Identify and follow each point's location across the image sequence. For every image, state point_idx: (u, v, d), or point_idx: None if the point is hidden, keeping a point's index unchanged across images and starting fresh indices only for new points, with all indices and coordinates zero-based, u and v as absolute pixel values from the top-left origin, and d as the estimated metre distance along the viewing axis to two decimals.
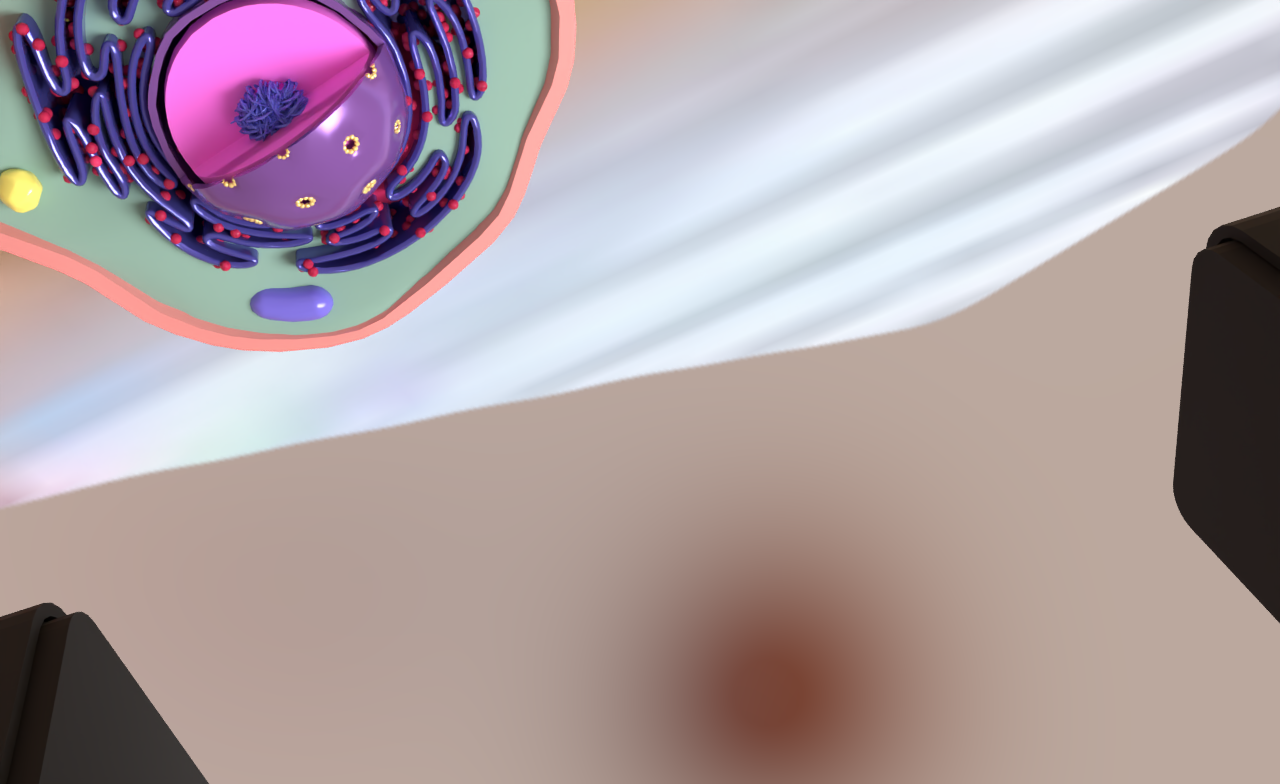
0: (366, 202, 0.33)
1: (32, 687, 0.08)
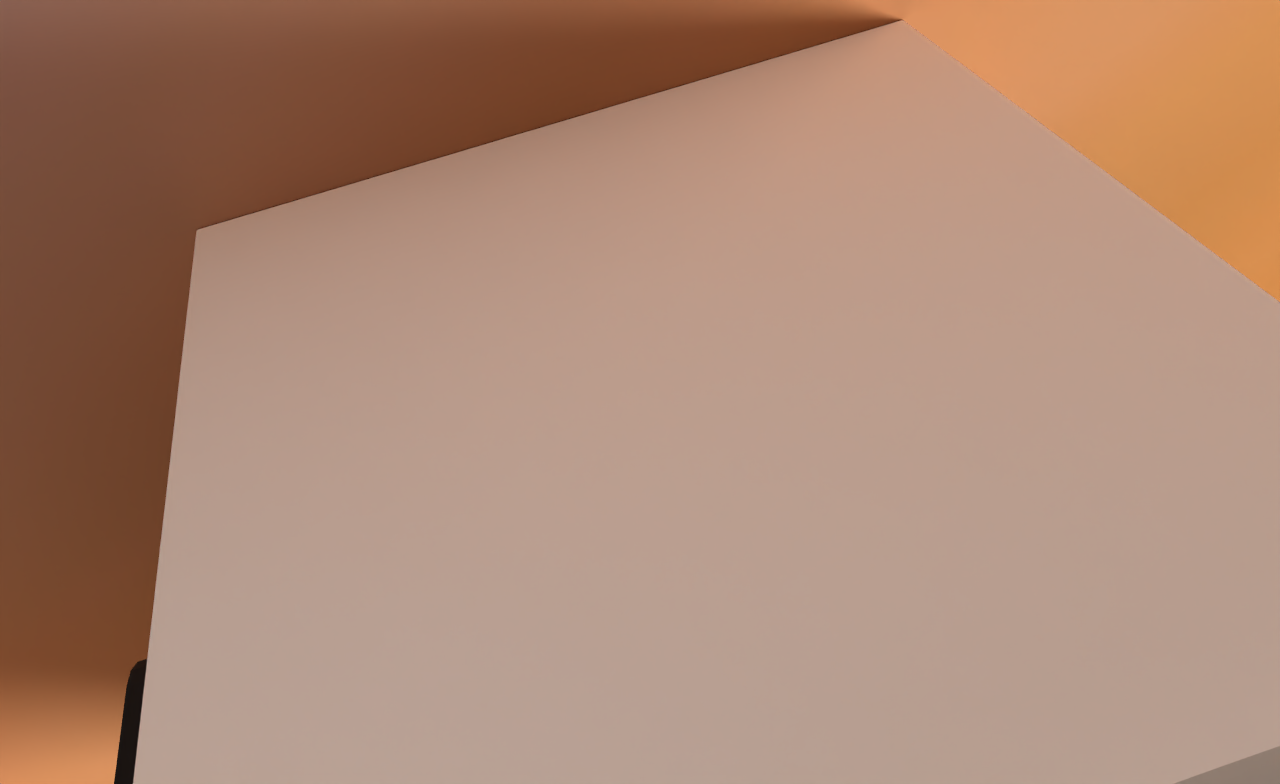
0: None
1: None
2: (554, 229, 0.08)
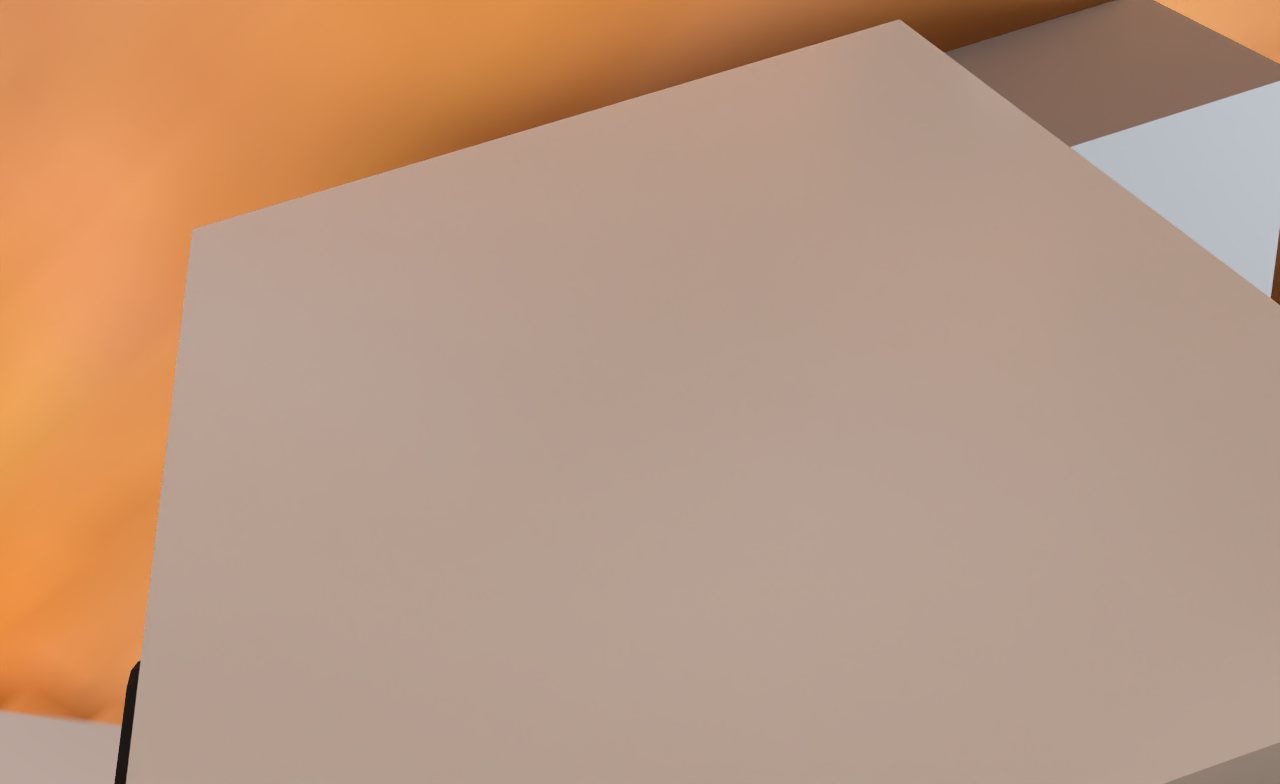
0: None
1: None
2: (550, 228, 0.08)
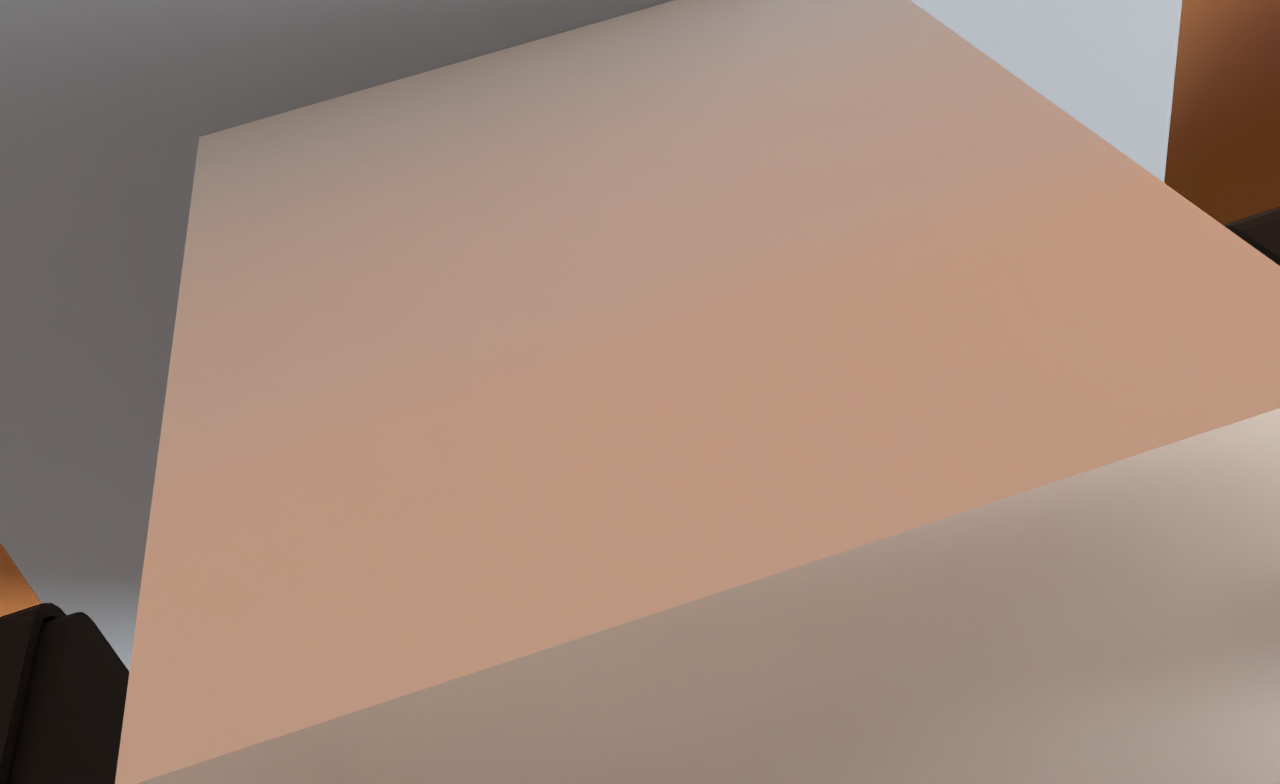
0: None
1: (31, 687, 0.08)
2: (519, 126, 0.09)
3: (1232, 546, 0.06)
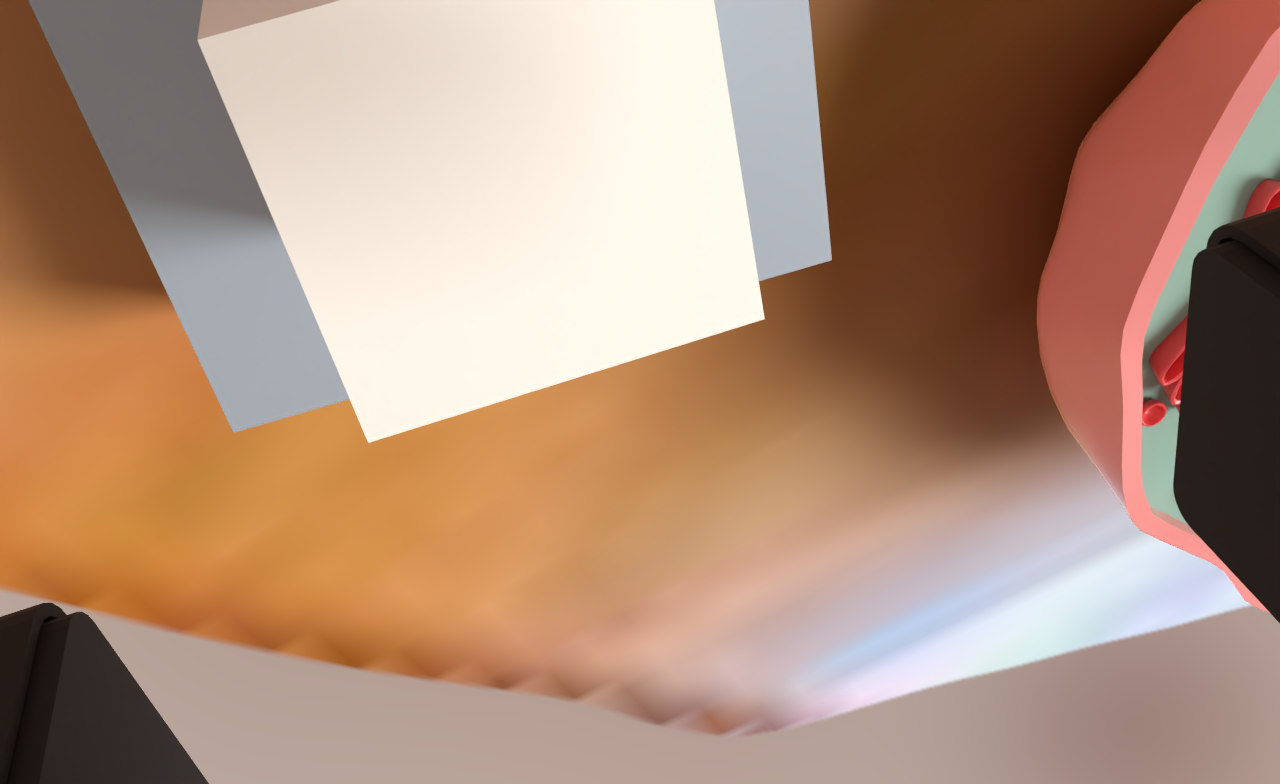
0: None
1: (31, 687, 0.08)
2: None
3: None
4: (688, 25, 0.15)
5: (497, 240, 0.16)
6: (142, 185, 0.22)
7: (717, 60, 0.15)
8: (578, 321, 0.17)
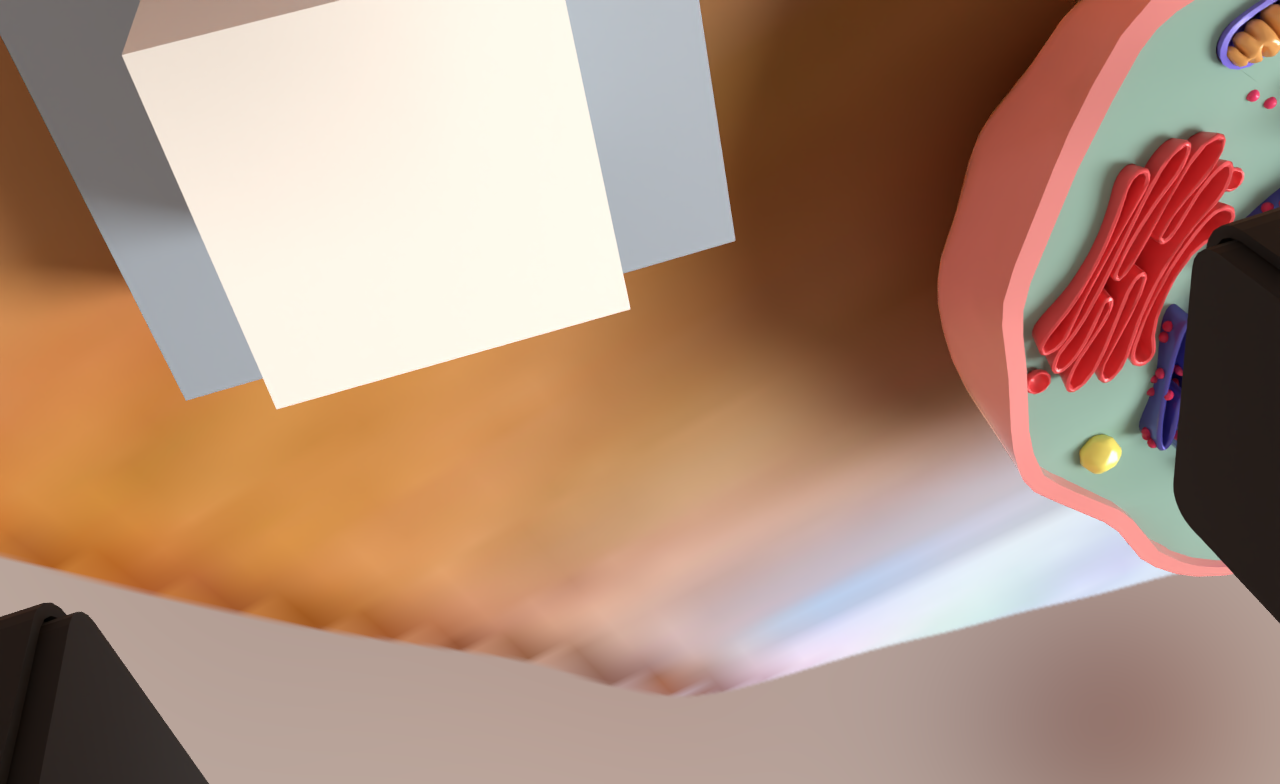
0: None
1: (32, 687, 0.08)
2: None
3: (510, 19, 0.17)
4: (550, 51, 0.18)
5: (388, 233, 0.19)
6: (95, 175, 0.24)
7: (576, 81, 0.18)
8: (461, 307, 0.19)
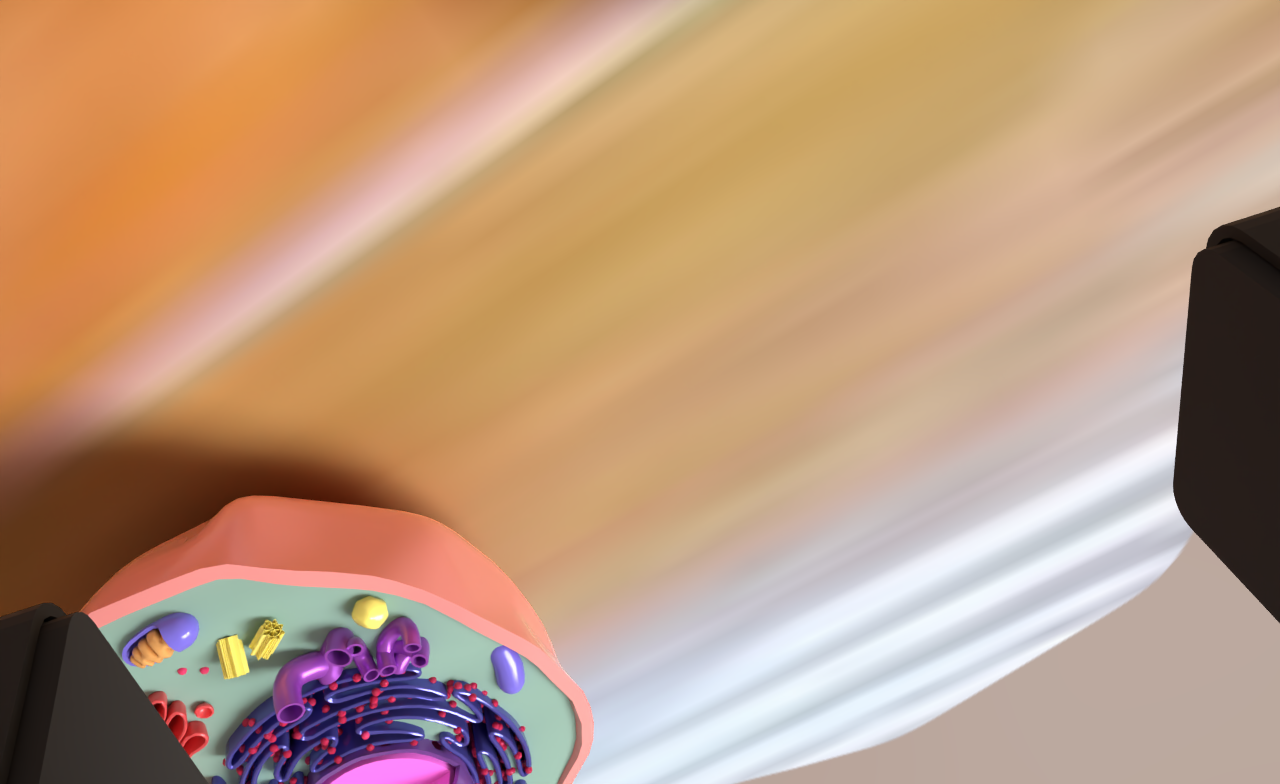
0: None
1: (31, 687, 0.08)
2: None
3: None
4: None
5: None
6: None
7: None
8: None
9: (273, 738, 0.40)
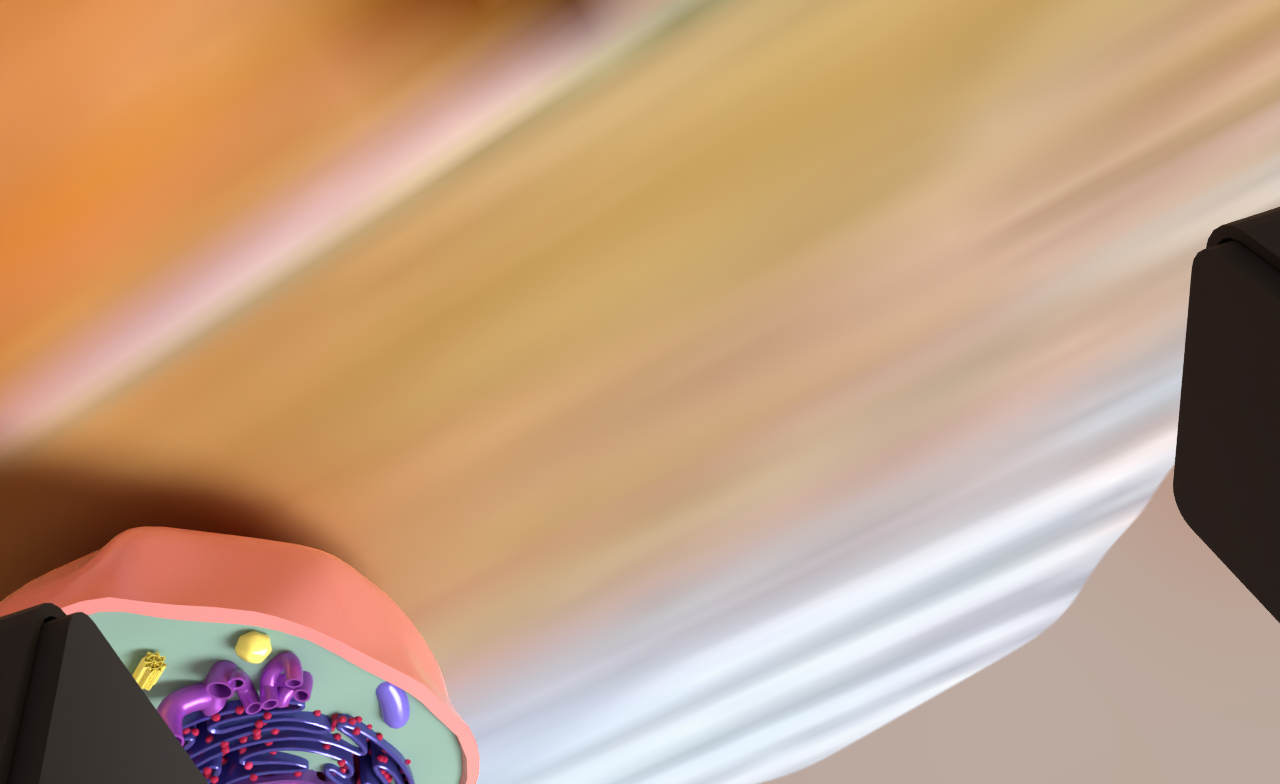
0: None
1: (32, 687, 0.08)
2: None
3: None
4: None
5: None
6: None
7: None
8: None
9: None
